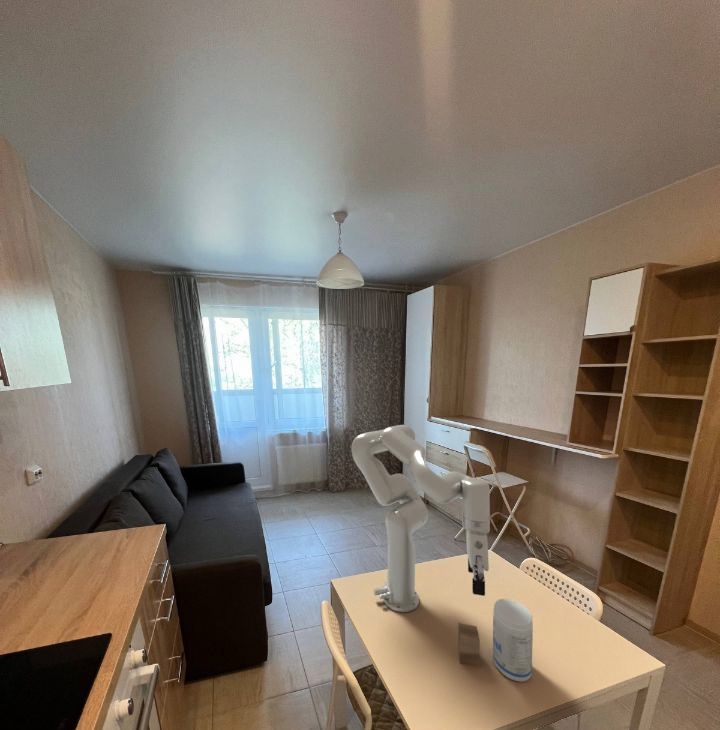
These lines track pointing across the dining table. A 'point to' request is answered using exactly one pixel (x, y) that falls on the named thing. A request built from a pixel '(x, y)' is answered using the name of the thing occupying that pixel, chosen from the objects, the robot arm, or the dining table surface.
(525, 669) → the supplement tub
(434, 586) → the dining table surface
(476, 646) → the walnut block
